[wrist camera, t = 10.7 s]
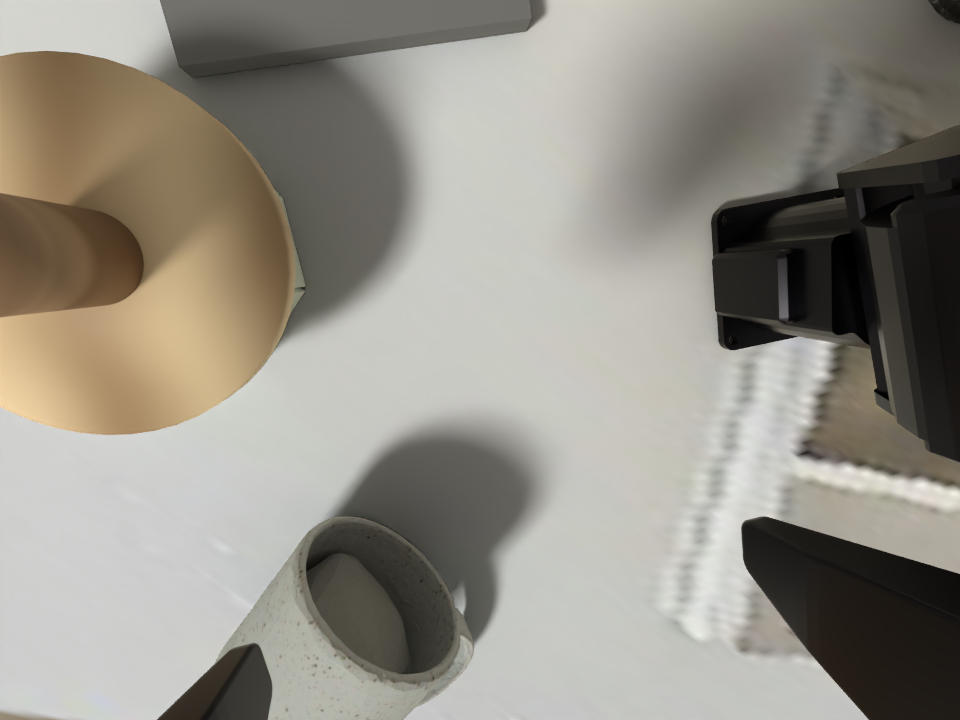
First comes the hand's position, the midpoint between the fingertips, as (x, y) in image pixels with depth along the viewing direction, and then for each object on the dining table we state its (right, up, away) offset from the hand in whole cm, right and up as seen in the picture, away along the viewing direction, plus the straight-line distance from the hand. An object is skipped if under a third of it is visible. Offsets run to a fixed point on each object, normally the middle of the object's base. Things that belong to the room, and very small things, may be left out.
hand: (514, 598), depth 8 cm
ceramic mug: (-6, -7, +14) cm, 17 cm away
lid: (-12, +8, +6) cm, 16 cm away
